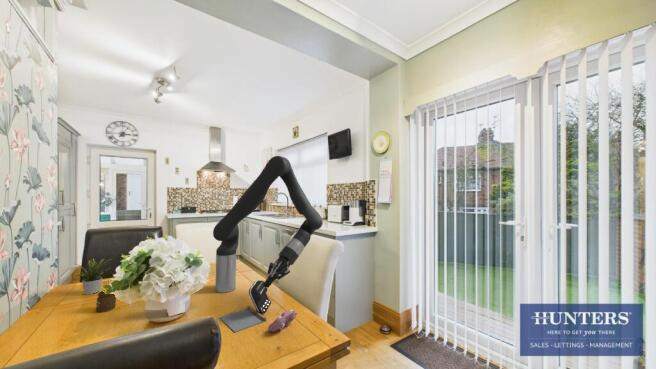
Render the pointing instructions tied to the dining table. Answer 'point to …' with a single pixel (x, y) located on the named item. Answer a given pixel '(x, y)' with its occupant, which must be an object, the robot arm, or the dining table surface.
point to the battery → (259, 296)
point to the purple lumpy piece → (282, 321)
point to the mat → (241, 320)
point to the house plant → (92, 277)
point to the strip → (256, 313)
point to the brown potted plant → (105, 301)
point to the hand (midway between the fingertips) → (265, 286)
